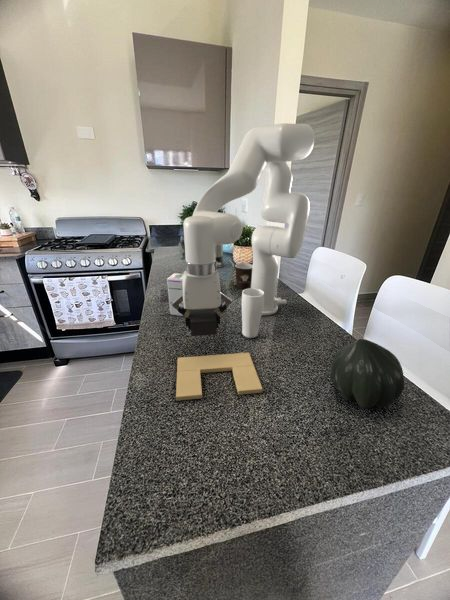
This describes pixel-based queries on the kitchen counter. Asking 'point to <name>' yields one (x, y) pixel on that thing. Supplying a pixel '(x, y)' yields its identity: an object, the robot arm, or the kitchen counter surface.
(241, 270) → the coffee mug
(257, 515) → the kitchen counter surface
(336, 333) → the kitchen counter surface
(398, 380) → the squash
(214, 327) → the black block
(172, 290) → the syrup box
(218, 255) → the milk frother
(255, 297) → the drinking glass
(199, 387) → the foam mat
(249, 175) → the robot arm
